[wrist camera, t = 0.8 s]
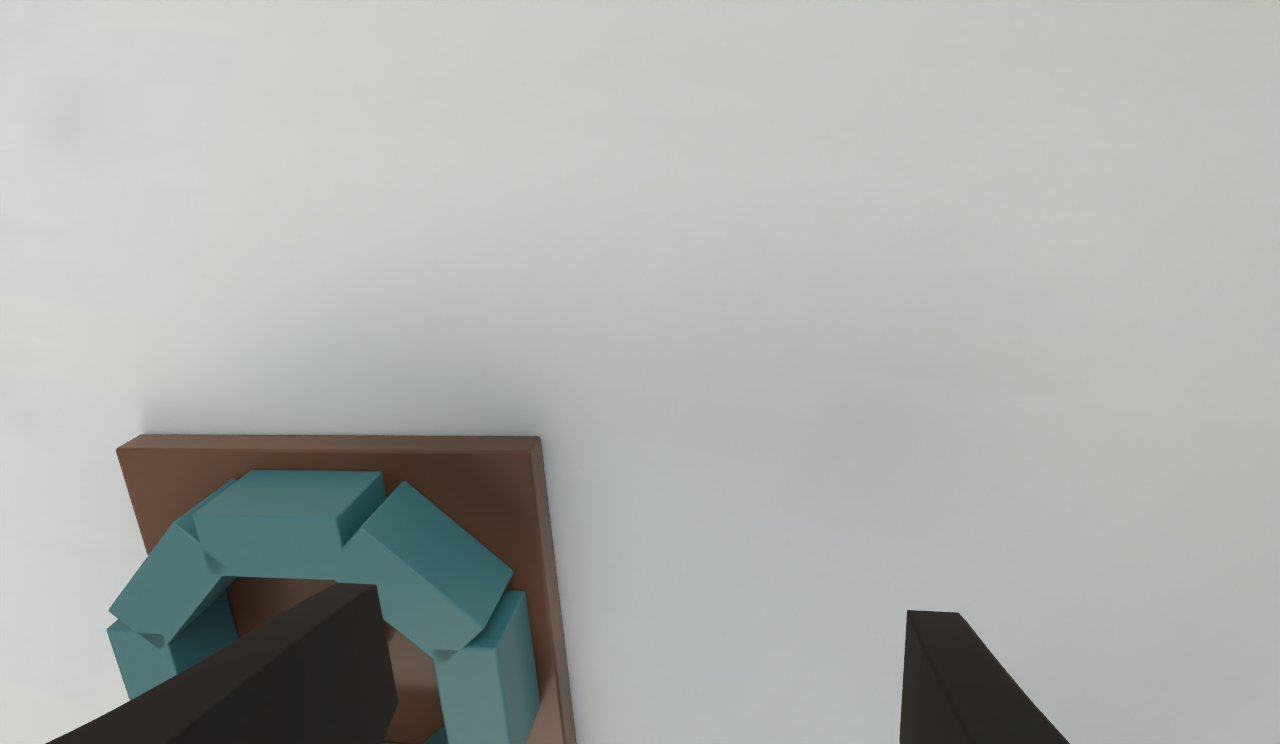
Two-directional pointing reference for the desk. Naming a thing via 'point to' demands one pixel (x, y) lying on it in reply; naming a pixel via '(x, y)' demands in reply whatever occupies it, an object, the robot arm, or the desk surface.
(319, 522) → the hoop
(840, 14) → the desk surface
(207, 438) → the peg stand
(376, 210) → the desk surface
